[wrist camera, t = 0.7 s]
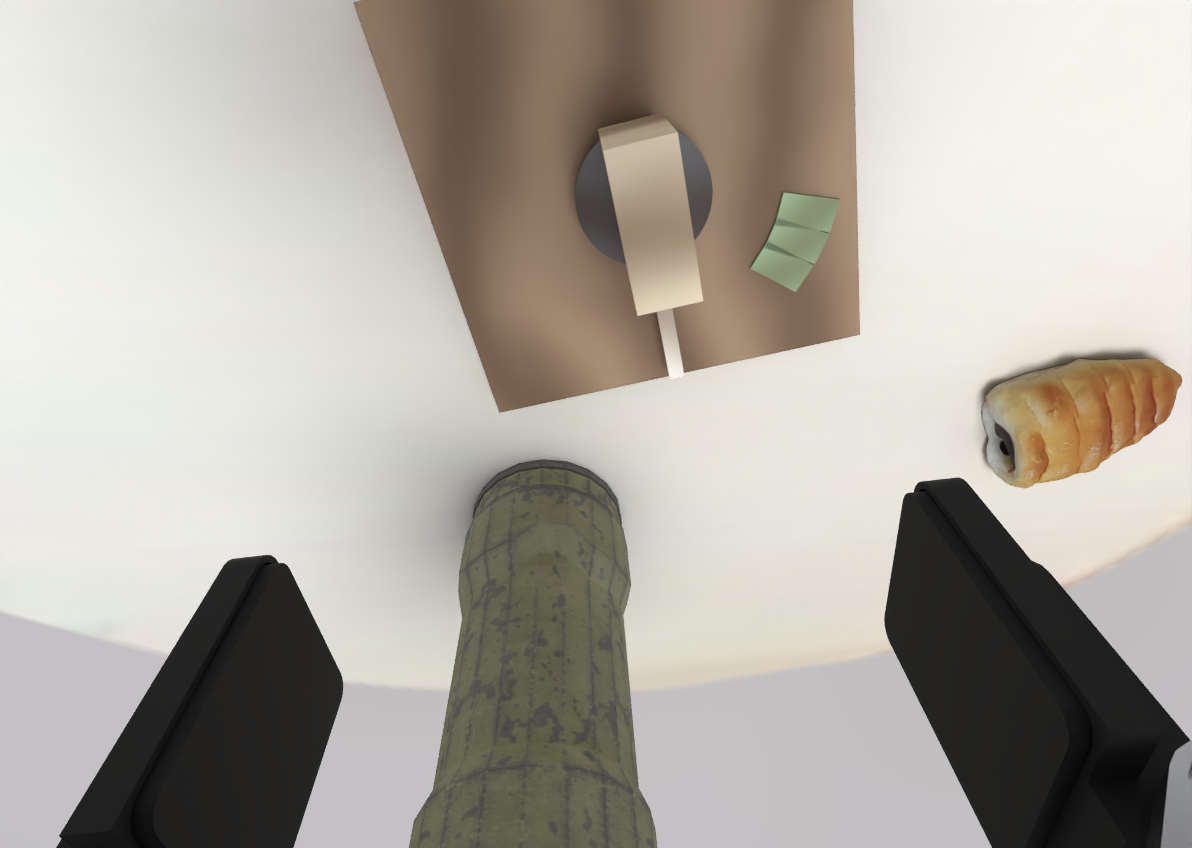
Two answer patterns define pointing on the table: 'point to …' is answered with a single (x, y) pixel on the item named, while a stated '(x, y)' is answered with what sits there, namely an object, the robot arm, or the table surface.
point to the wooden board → (570, 127)
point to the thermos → (540, 675)
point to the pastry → (1073, 416)
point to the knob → (648, 215)
